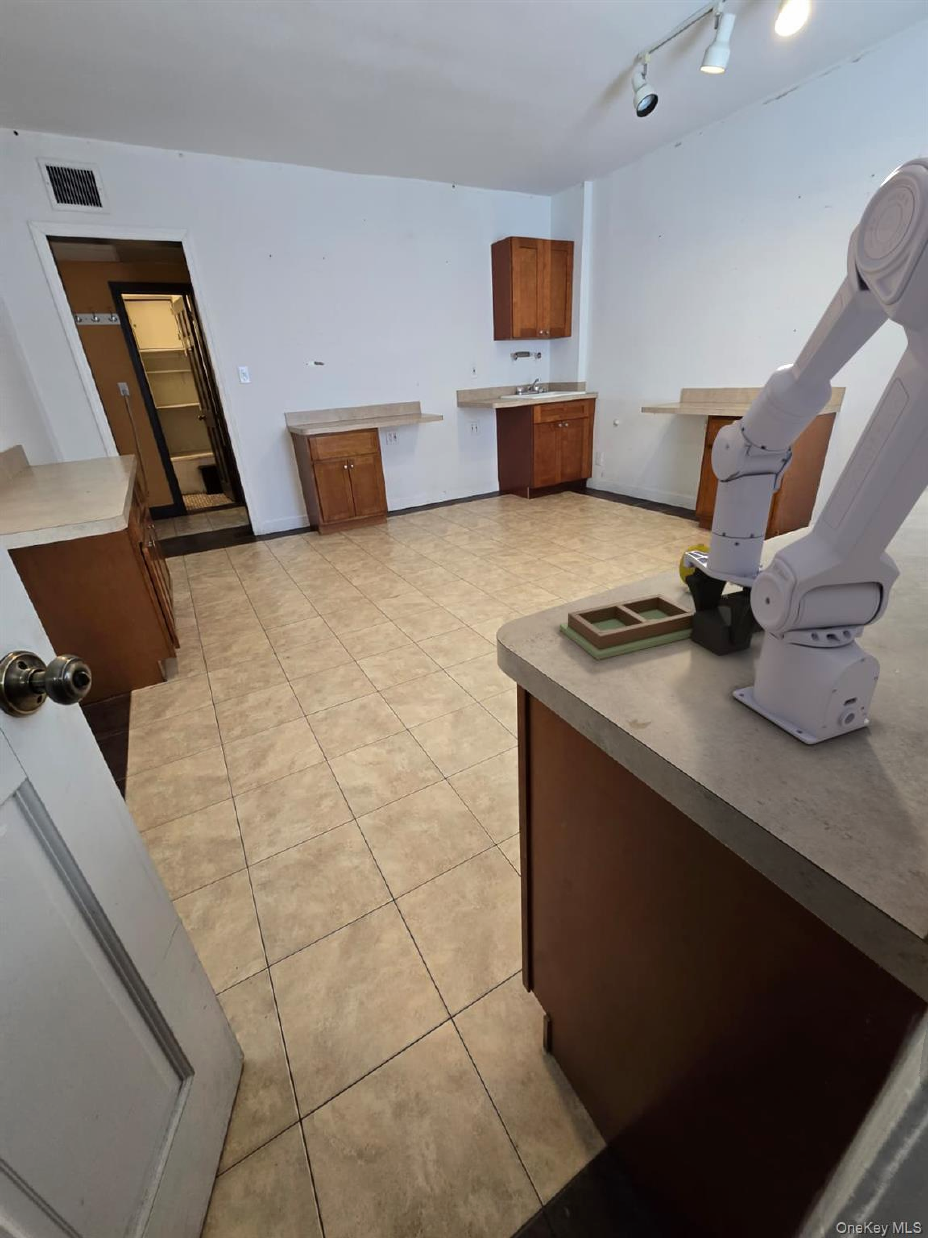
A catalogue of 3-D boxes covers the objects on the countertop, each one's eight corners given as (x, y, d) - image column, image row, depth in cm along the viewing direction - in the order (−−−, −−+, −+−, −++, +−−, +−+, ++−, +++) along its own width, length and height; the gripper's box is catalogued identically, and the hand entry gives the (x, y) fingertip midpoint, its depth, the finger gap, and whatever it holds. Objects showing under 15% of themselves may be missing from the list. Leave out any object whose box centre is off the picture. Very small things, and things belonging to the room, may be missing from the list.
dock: (706, 633, 70) (708, 614, 69) (597, 660, 65) (598, 640, 64) (658, 607, 79) (659, 590, 77) (559, 629, 74) (559, 611, 73)
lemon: (717, 596, 81) (724, 548, 77) (679, 596, 82) (685, 548, 79) (709, 584, 86) (716, 537, 82) (674, 583, 87) (679, 538, 83)
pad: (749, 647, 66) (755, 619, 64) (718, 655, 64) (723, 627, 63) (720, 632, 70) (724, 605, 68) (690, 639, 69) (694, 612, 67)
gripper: (819, 541, 56) (794, 651, 61) (718, 515, 68) (705, 608, 74) (769, 551, 54) (747, 664, 59) (675, 522, 66) (664, 617, 72)
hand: (721, 634), depth 67 cm, fingers closed on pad, 5 cm apart
